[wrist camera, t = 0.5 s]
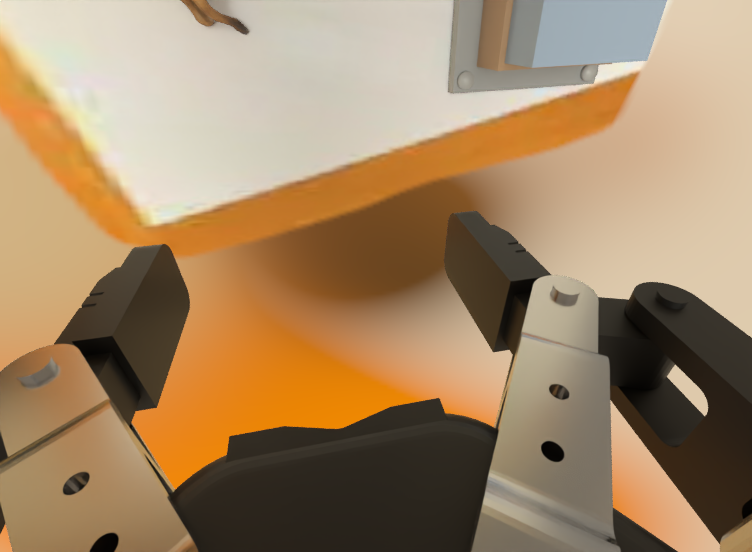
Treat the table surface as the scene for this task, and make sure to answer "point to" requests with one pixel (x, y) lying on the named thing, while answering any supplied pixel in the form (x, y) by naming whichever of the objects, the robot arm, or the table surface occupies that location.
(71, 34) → the table surface
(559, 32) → the studded plate stack
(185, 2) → the lion figurine
